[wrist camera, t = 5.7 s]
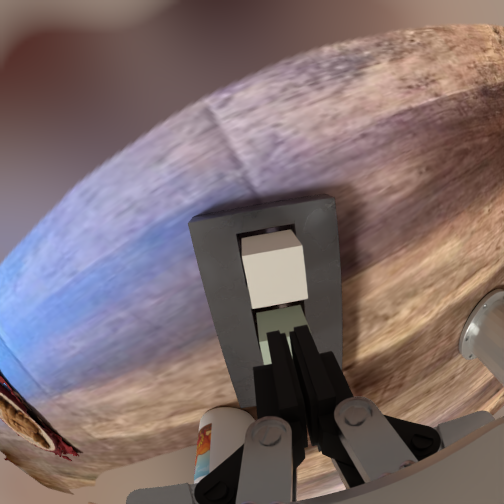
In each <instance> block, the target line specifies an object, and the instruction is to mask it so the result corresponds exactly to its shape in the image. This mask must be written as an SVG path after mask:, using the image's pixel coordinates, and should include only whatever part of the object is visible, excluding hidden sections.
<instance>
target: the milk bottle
mask: <svg viewBox="0 0 504 504" xmlns="http://www.w3.org/2000/svg"><path fill="white" fill-rule="evenodd" d="M254 421H255V420H254V418H253V417H252V416H251V415H250V414H249V413H248V412H246V411H244V410H241V409H237V408H232V407H220V408H215V409H212V410H209V411H208V412H206V413H205V414H204V415H203V416H202V418H201V420H200V425H199V433H198V442H197V451H196V461H195V473H194V484H195V483H198V482H199V481H200V480H201V479H203V478H204V477H205V476H206V475H208V474H209V473H210V472H211V471H213V470H214V469H215V468H216V467H217V466H219V465H220V464H221V463H222V462H223V461H225V460H226V459H227V458H228V457H229V456H230V455H232V454H233V453H234V452H235V451H236V450H237V449H238V448H239V447H241V446H242V445H243V444H244V442H245V435H246V431H247V428H248V427H249V426H250V424H251V423H253V422H254Z"/></svg>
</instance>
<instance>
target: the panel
mask: <svg viewBox="0 0 504 504" xmlns="http://www.w3.org/2000/svg"><path fill="white" fill-rule="evenodd" d="M289 224H290V226H291V230H292V232H293V233H294V235H295V236H296V237H297V239H298V240H299V241H300V243H301V244H302V247H303V255H304V264H305V273H306V282H307V292H308V299H304V300H300V305H301V308H302V311H303V313H304V316H305V318H306V321H307V323H308V326H309V328H310V331H311V335H312V337H313V340H314V342H315V345H316V347H317V350H318V352H319V354H320V353H324V352H328V351H332V352H333V353H334V355H335V358H336V360H337V362H338V364H339V366H340V368H341V370H342V287H341V266H340V251H339V237H338V226H337V215H336V206H335V198H334V197H332V196H329V195H327V194H321V195H314V196H307V197H301V198H295V199H288V200H282V201H276V202H270V203H264V204H259V205H253V206H247V207H242V208H236V209H231V210H226V211H221V212H215V213H210V214H205V215H200V216H195V217H193V218H192V219H191V220H190V221H189V223H188V226H189V230H190V234H191V238H192V243H193V247H194V251H195V255H196V259H197V263H198V267H199V271H200V274H201V278H202V282H203V286H204V290H205V293H206V297H207V301H208V304H209V308H210V311H211V315H212V318H213V322H214V325H215V329H216V332H217V336H218V339H219V342H220V346H221V349H222V352H223V355H224V359H225V362H226V365H227V368H228V371H229V374H230V378H231V381H232V384H233V387H234V390H235V393H236V396H237V399H238V402H239V405H240V407H241V408H245V407H252V406H256V397H255V386H254V376H253V367H255V366H261V365H264V362H263V357H262V352H261V348H260V343H259V335H258V333H257V328H256V323H255V318H254V313H253V309H252V304H251V299H250V294H249V289H248V284H247V279H246V274H245V269H244V264H243V259H242V253H241V248H240V243H239V238H238V233H244V232H249V231H255V230H261V229H266V228H272V227H278V226H283V225H289ZM288 303H289V302H288ZM283 304H284V303H283ZM272 306H273V305H272ZM261 308H262V307H261ZM255 309H256V308H255Z"/></svg>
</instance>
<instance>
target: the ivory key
mask: <svg viewBox="0 0 504 504" xmlns="http://www.w3.org/2000/svg"><path fill="white" fill-rule="evenodd" d="M242 259H243V264H244V269H245V274H246V279H247V284H248V289H249V294H250V299H251V304H252V309H255V308H261V307H267V306H272V305H278V304H283V303H288V302H294V301H299V300H304V299H308V292H307V282H306V273H305V264H304V255H303V247H302V244H301V243H300V241H299V240H298V239H297V237H296V236H295V235H294V233H293V232H292V230H291V229H290V230H285V231H279V232H273V233H268V234H262V235H256V236H251V237H245V238H242Z"/></svg>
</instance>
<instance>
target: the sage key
mask: <svg viewBox="0 0 504 504" xmlns="http://www.w3.org/2000/svg"><path fill="white" fill-rule="evenodd" d="M256 315H257V325H258V334H259V343H260V348H261V352H262V357H263V362H264V365H267V364H272V363H271V357H270V352H269V346H268V340H267V335H266V333H267V332H272V331H277V330H279V331H280V333H285V334H286V337H287V341H288V344H289V348H290V351H291V343H290V335H289V332H290V331H294V327H297V326H302V325H308V323H307V321H306V318H305V316H304V313H303V311H302V308H301V305H297V306H291V307H286V308H281V309H275V310H270V311H264V312H259V313H256ZM308 328H309V326H308ZM309 330H310V328H309ZM310 332H311V331H310ZM291 355H292V351H291Z"/></svg>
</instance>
